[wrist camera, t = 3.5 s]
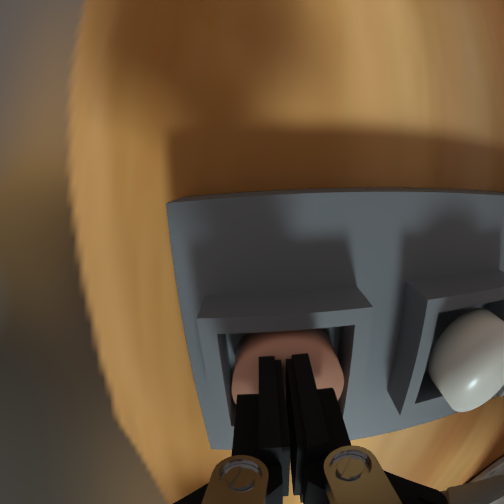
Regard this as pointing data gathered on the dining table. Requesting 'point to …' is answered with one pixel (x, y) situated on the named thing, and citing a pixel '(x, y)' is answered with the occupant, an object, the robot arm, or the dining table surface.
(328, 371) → the terracotta button
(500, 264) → the control panel
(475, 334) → the cream button
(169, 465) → the dining table surface
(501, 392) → the metal lever
